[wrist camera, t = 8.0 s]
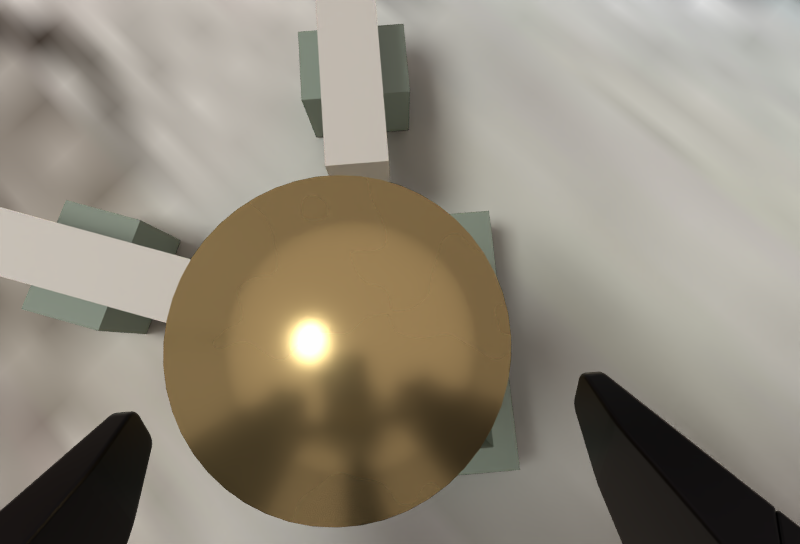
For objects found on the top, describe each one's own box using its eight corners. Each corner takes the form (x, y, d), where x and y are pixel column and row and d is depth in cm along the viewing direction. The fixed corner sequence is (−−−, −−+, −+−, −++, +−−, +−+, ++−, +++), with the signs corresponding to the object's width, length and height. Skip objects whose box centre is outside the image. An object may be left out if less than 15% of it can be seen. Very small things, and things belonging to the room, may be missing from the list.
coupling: (466, 358, 18) (583, 367, 7) (367, 440, 18) (300, 611, 6) (388, 261, 19) (368, 114, 7) (290, 337, 19) (97, 312, 7)
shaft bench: (506, 456, 18) (547, 497, 13) (51, 496, 18) (-85, 552, 13) (458, 40, 21) (476, -57, 16) (69, 69, 21) (-35, -19, 16)
